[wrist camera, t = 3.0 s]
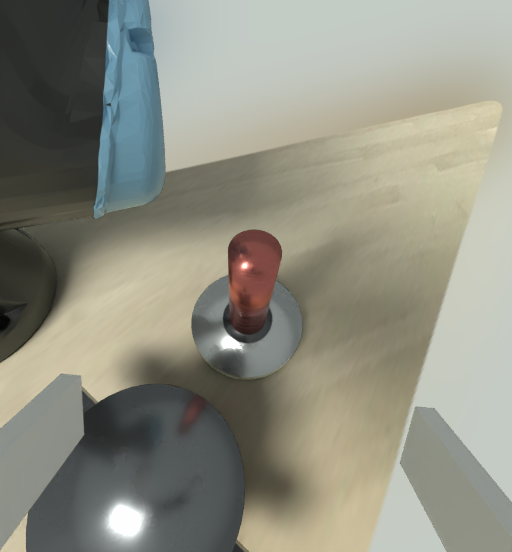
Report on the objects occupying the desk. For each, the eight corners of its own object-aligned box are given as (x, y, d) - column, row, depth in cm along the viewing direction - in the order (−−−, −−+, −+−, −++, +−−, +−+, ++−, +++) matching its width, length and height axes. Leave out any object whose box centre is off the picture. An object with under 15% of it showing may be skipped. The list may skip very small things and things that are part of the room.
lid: (184, 291, 30) (157, 203, 19) (279, 269, 32) (302, 179, 21) (205, 394, 25) (186, 354, 15) (316, 361, 27) (368, 305, 17)
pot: (25, 469, 22) (-54, 476, 16) (142, 350, 27) (115, 321, 21) (202, 678, 18) (186, 797, 12) (304, 492, 22) (330, 508, 16)
